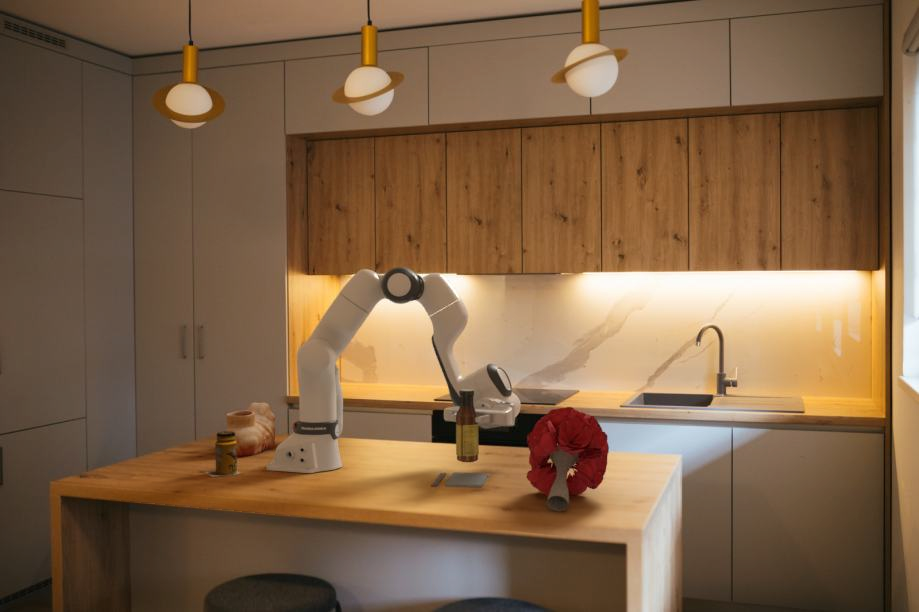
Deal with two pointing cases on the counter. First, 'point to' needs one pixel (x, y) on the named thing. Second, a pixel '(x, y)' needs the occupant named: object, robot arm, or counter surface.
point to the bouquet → (566, 455)
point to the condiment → (225, 455)
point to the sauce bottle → (466, 428)
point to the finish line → (438, 479)
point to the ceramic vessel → (253, 429)
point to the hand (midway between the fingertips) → (465, 419)
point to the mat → (467, 480)
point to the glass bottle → (339, 400)
